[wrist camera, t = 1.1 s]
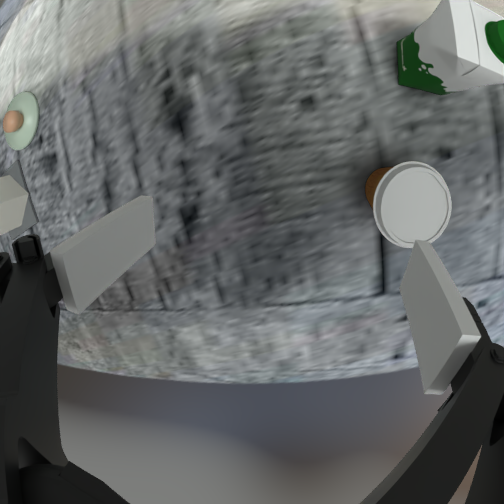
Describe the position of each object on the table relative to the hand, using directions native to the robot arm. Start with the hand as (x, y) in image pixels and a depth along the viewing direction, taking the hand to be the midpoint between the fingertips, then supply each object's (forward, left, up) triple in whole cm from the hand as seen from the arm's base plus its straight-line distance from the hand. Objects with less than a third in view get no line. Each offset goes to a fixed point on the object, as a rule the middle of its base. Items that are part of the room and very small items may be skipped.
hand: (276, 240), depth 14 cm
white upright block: (-16, -52, -27) cm, 61 cm away
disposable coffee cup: (+6, +13, -28) cm, 31 cm away
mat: (-16, -53, -28) cm, 62 cm away
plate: (-30, -43, -28) cm, 60 cm away
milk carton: (-10, +24, -28) cm, 38 cm away
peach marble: (-30, -43, -27) cm, 59 cm away
